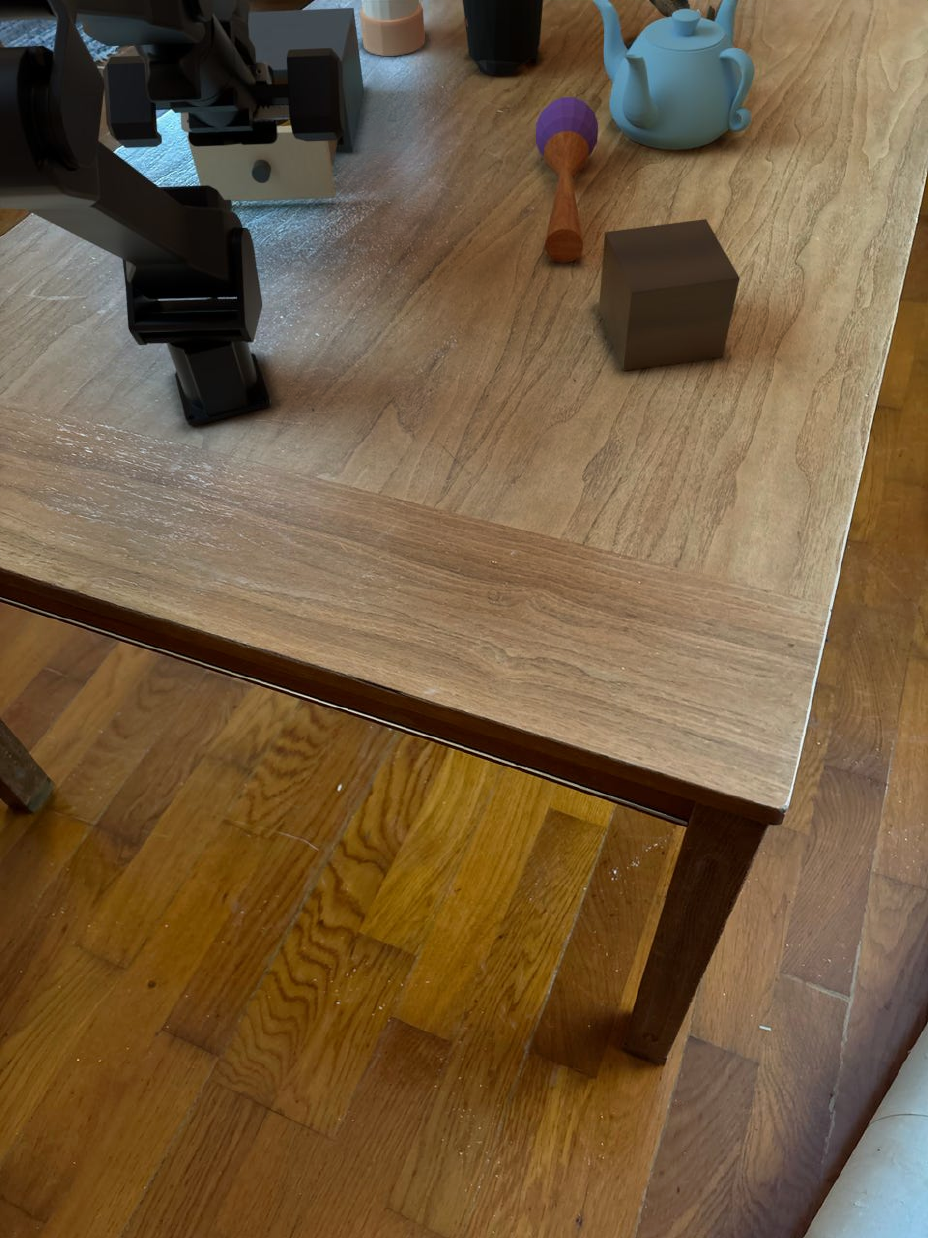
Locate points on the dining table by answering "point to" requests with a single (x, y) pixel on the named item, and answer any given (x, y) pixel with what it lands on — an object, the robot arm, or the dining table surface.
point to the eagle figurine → (668, 3)
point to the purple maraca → (565, 169)
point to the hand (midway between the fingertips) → (253, 135)
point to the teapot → (677, 78)
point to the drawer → (269, 168)
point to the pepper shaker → (392, 26)
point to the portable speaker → (502, 33)
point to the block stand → (666, 294)
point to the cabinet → (313, 31)
